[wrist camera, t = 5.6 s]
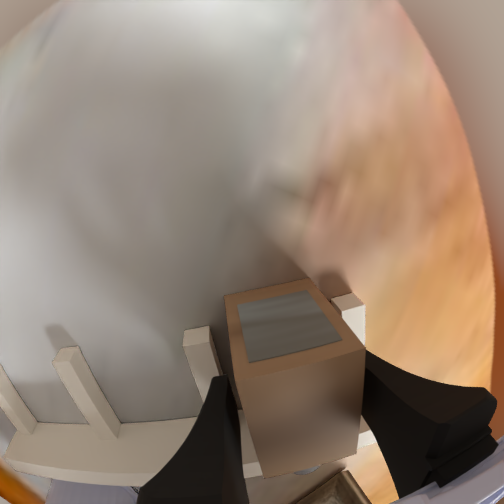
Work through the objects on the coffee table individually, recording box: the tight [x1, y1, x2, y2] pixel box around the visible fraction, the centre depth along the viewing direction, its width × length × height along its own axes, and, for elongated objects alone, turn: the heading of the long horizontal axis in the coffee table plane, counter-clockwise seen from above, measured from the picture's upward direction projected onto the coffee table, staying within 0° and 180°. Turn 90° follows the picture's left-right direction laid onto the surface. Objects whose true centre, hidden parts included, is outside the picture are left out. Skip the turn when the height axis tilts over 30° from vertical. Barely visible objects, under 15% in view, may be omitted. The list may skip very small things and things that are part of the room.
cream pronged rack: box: [0, 293, 377, 487], centre depth 13 cm, size 8×24×5 cm, turn 100°
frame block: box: [224, 278, 366, 479], centre depth 12 cm, size 6×4×6 cm, turn 10°
